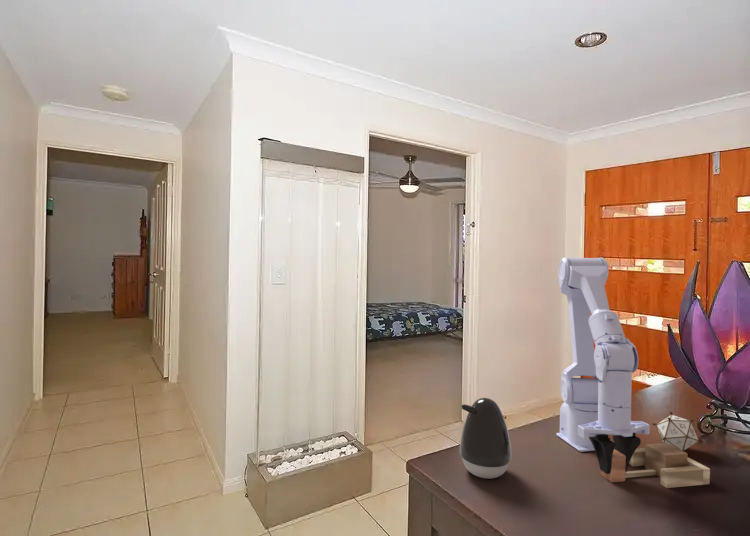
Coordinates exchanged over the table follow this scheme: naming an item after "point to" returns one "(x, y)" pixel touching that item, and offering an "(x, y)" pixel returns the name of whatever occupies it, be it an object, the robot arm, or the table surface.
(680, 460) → the tethered block
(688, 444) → the game die
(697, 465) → the wooden u-channel piece
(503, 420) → the pump dispenser
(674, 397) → the table surface
